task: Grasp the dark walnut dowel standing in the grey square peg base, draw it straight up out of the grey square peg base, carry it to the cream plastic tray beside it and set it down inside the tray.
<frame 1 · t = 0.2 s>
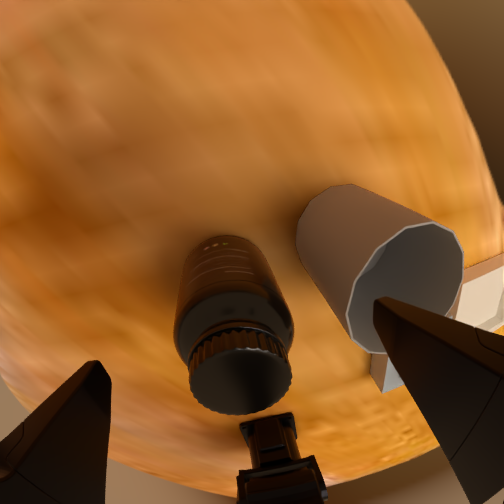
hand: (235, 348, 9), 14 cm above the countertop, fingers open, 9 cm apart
supplement bottle: (225, 272, 24), on the countertop
tray: (477, 298, 30), on the countertop
grey square peg base: (402, 338, 30), on the countertop
cup: (343, 233, 24), on the countertop
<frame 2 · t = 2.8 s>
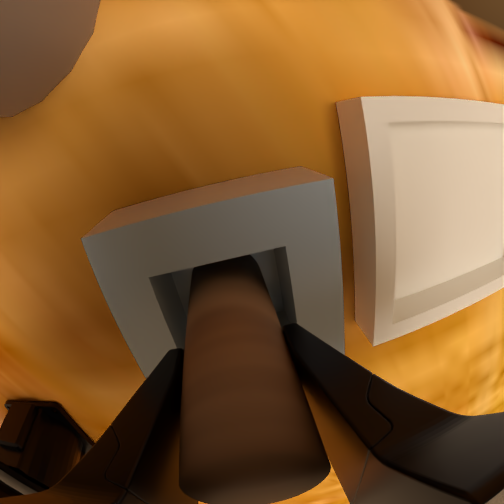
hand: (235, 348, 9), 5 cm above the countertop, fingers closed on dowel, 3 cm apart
tray: (451, 202, 13), on the countertop
dowel: (226, 279, 13), point 1 cm above the countertop, touching grey square peg base, gripper
grey square peg base: (226, 274, 13), on the countertop
cup: (25, 35, 8), on the countertop
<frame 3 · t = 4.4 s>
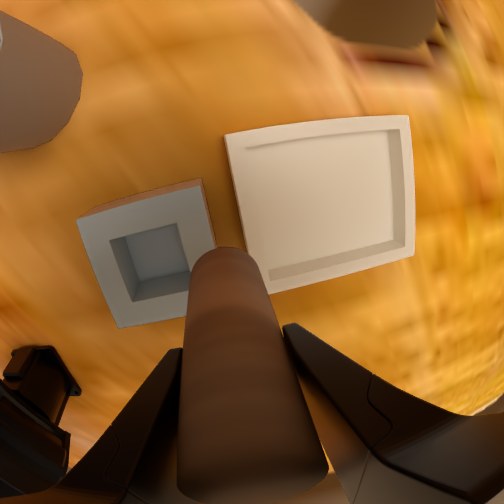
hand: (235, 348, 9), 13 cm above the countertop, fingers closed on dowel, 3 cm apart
tray: (326, 195, 21), on the countertop
dowel: (225, 279, 13), point 9 cm above the countertop, touching gripper
grey square peg base: (159, 245, 21), on the countertop
cup: (37, 94, 15), on the countertop
when the fingers open (6 cm above the countertop, at t = 6.3 s): dowel drops 1 cm, resting on tray.
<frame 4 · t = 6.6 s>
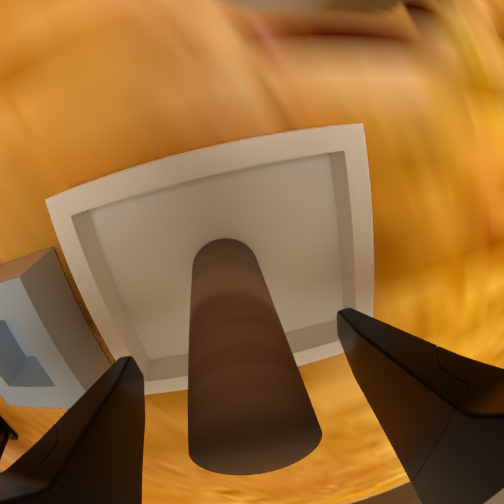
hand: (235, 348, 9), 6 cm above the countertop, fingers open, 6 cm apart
tray: (225, 263, 14), on the countertop
dowel: (225, 269, 14), point 1 cm above the countertop, touching tray
grey square peg base: (34, 321, 14), on the countertop
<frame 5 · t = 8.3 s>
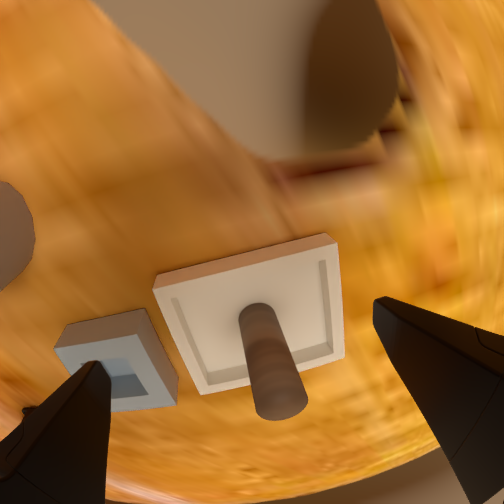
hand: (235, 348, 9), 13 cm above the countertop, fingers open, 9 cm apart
tray: (256, 314, 24), on the countertop
dowel: (257, 318, 23), point 1 cm above the countertop, touching tray
grey square peg base: (122, 353, 24), on the countertop
cup: (0, 228, 18), on the countertop
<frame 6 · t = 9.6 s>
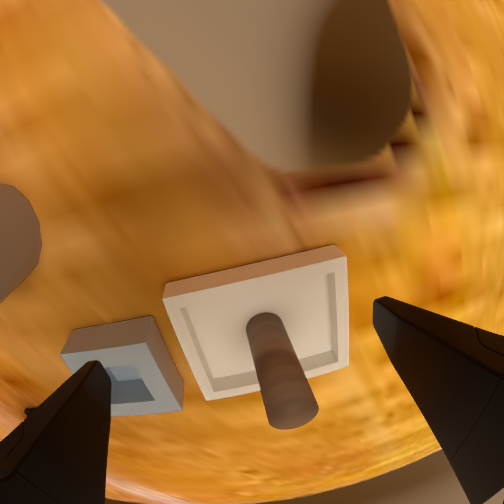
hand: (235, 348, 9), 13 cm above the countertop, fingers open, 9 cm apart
tray: (263, 323, 24), on the countertop
dowel: (264, 327, 24), point 1 cm above the countertop, touching tray
grey square peg base: (128, 358, 24), on the countertop
cup: (6, 232, 18), on the countertop
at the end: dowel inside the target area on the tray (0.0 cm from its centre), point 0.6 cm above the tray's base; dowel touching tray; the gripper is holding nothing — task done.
